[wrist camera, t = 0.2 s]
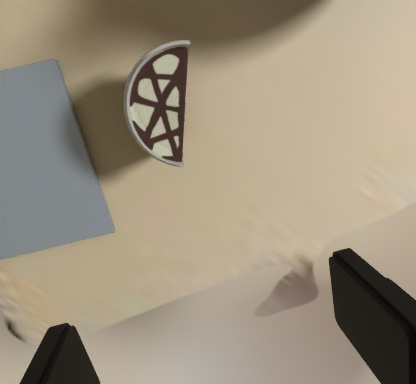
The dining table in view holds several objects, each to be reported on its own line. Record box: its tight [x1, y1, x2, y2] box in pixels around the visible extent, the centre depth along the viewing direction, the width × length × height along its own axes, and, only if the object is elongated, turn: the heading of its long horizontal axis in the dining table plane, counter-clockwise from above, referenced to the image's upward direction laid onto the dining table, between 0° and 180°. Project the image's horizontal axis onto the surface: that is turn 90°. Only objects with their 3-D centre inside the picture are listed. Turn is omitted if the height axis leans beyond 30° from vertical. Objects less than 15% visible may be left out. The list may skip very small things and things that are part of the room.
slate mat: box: [0, 59, 115, 260], centre depth 38 cm, size 22×16×1 cm
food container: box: [123, 40, 190, 167], centre depth 33 cm, size 12×6×10 cm, turn 176°
